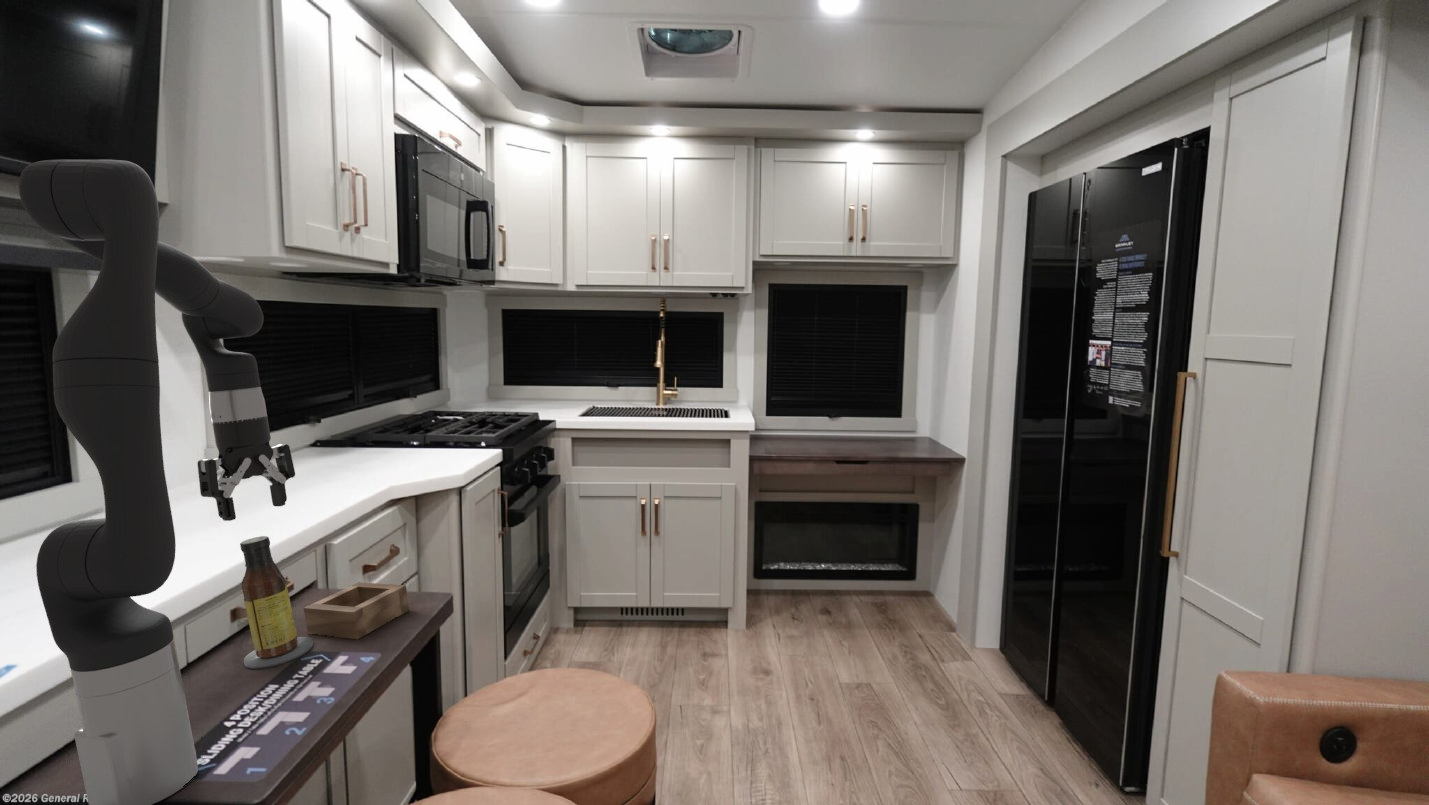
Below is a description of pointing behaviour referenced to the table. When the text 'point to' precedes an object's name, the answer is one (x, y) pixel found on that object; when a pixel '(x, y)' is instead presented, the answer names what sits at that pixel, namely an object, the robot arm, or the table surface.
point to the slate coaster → (299, 650)
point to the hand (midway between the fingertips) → (255, 512)
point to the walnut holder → (356, 610)
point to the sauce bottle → (267, 601)
